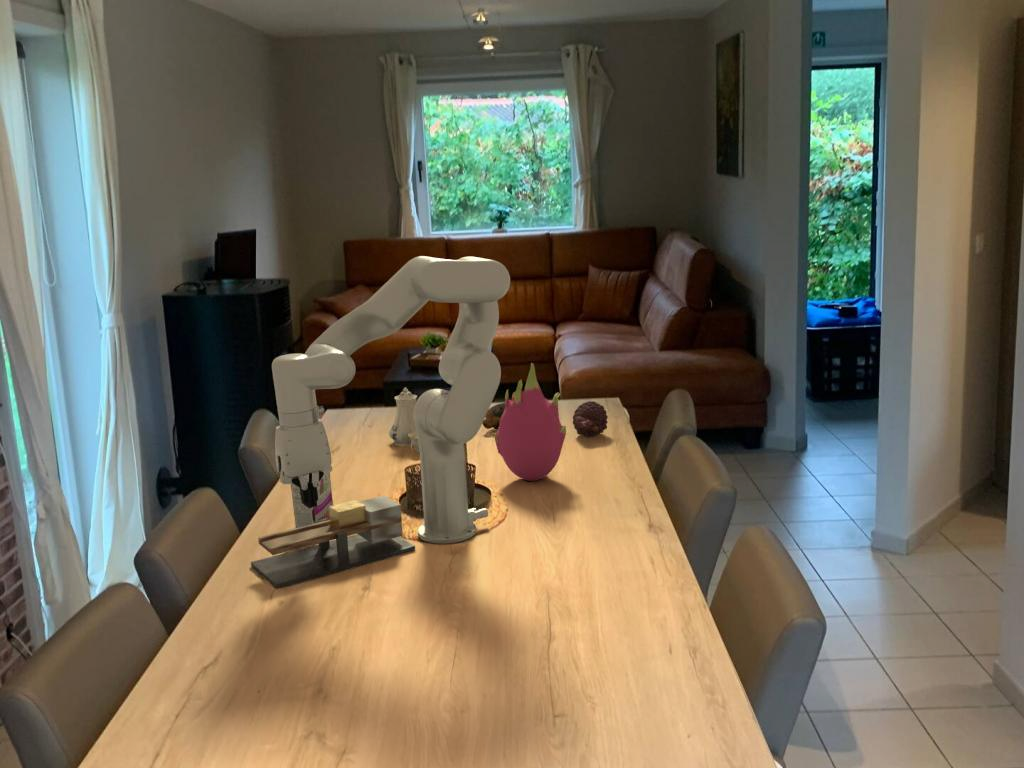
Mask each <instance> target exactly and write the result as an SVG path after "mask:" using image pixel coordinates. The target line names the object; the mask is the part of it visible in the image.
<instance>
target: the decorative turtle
mask: <svg viewBox="0 0 1024 768" xmlns="http://www.w3.org/2000/svg"><path fill="white" fill-rule="evenodd" d="M504 410H505V402H503V403H502V402H501V403H498V404H495V405H493V406H490V407H489V409H488V412H487V414H486V416H485V419H484V421H483V423H482V425H483V427H484V428H485V429H488V430H489V429H490V430H491V429H492V428H493V429H495V430H497V429H499V424H500V419H501V416H502V414H503V412H504Z"/></svg>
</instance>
